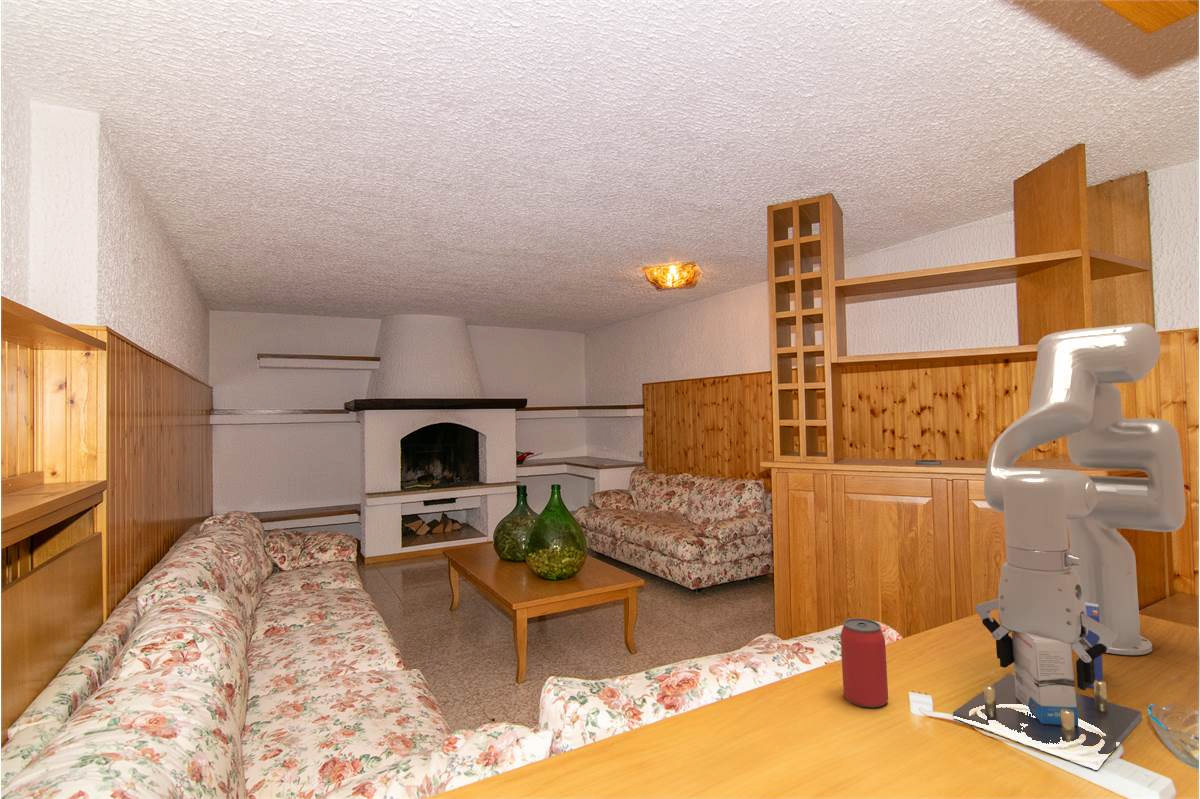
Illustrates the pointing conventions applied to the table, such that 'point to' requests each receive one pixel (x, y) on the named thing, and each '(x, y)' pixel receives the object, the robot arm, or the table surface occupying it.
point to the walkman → (1094, 639)
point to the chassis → (1089, 709)
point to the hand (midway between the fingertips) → (1044, 675)
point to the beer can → (864, 663)
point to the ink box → (1044, 676)
